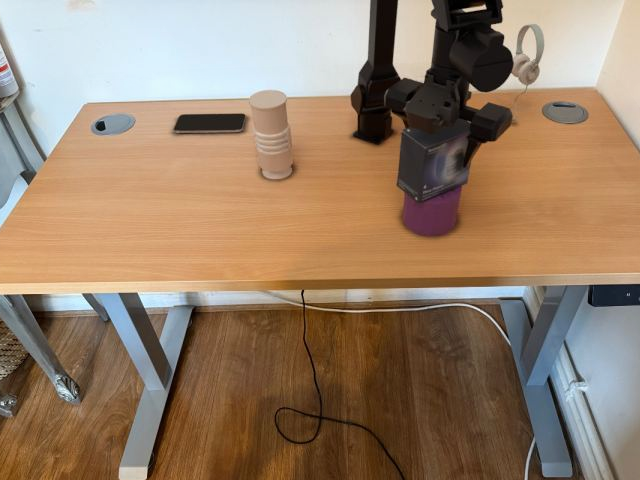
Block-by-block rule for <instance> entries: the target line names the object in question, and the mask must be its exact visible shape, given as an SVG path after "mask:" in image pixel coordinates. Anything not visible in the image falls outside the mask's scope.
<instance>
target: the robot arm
mask: <svg viewBox="0 0 640 480" xmlns="http://www.w3.org/2000/svg"><path fill="white" fill-rule="evenodd" d="M430 1H431V4H432V6H433V8H432V10H431V11H430V16H431V17H432V18H433V19H434V20H435V23H434V24H435V25H434V34H433V43H432V53H431V63H430V67H429V68H428V69H427V70H425V74H424V80H423V82H421V81H418V80H414V79H411V78H408V77H403V78H401V77H400V75H399V73H398V71H397V70H396V67H395V66H394V55H395V43H396V33H397V19H398V8H399V0H370V1H369V21H368V22H369V23H368V45H367V59H366V60H365V63H364V64H363V65H362V67H361V68H360V69H359V71H358V76H357V85H355V87H354V88H353V90H352V92H351V94H350V104H351V107H352V109H353V110H354V111H355V112H356V114H357V129H356V130H355V131H354V132H353V133H352V137H354V138H358V139H359V140H363V141H366V142H369V143H371V144H374V145H380V144H381V143H382V142H383V141H384V140H386V139H388V138H389V137H390V136H391V135H392V134H393V133H395V129H393V115H395V116H397V117H398V118H399V119H400V120H401V121H402V122H403V125H404V128H405V129H406V128H409V127H411V128H413V129H415V128H416V129H419V130H422V131H425V132H426V133H428V134H435V133H437V132H438V131H439V129H442V128H443V127H448V128H451V127H452V126H453V125H454V123H455V122H456V120H457V119H458V118H460V119H463V120H466V121H468V122H470V129H469V130H470V132H471V133H470V134H468V135H467V136H466V138H467V140H468V145H467V149H466V153H465V157H464V162H463V168H466V167H467V166H468V165H469V163H470V162H471V163H472V161H473V159H474V157H475V156H476V154H477V152H478V150H479V149H480V147H481V146H482V145H483V144H487V143H488V142H489V143H492V142H493V143H494V142H496V141H497V140H498V139H499V138H500V137H502V135H503V134H504V133H505V132H507V130H508V129H509V128H510V127H511V126H512V121H513V118H514V115H513V112H512V110H511V108H510V107H507V106H503V105H499V104H496V103H494V102H489V101H487V103H485V104H484V105H483V106H482V107H481V108H480V109H478V108H476V107H473V106H469V105H467V104H468V102H469V100H471V99H472V93H473V92H472V91H470V90H469V89H470V85H471V86H472V87H473V88H474V89H475V90H476V91H477V92H480V93H491V92H494V91H496V90H497V89H500V87H502V86H503V85H504V84H505V83H506V82H507V81H508V79H509V77H510V76H511V75H512V73H511V72H512V69H513V65H514V62H513V58H514V56H513V53H512V51H511V49H509V48H508V47H507V46H506V45H504V42H505V34H504V33H502V32H501V31H499V30H495V29H494V28H493V27H492V25H493V26H494V25H499V24H502V23H503V20H504V17H503V11H502V9H503V8H504V3H503V0H430ZM483 6H485V8H483V9H476V10H471V11H465V10H466V9H473V8H477V7H478V8H479V7H483ZM391 114H392V115H391ZM471 160H472V161H471Z"/></svg>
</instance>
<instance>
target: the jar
mask: <svg viewBox="0 0 640 480" xmlns="http://www.w3.org/2000/svg"><path fill="white" fill-rule="evenodd" d="M462 188H463V185H462V186H460V187H457V188H455V189H452V190H450V191H448V192H445V193H443V194H441V195H438V196H436V197H433V198H431V199H429V200H426V201H424V202H422V203H419V204H418V203H417V202H416V201H414V200H413V199H412V198H411V197H410V196H408V195H407V194H406V193H405V192H404V195H403V208H402V220H403V223H404V225H405V227H406V228H407V229H408V230H410V231H411V232H413V233H415V234H417V235H420V236H426V237H439V236H443V235H445V234H448V233H449V232H451V231H452V230H453V229H454V228H455V226H456V224H457V218H458V213H459V207H460V201H461V196H462V195H461V194H462Z"/></svg>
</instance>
